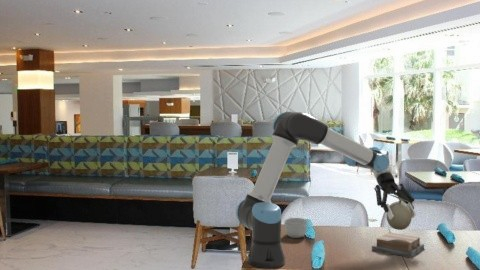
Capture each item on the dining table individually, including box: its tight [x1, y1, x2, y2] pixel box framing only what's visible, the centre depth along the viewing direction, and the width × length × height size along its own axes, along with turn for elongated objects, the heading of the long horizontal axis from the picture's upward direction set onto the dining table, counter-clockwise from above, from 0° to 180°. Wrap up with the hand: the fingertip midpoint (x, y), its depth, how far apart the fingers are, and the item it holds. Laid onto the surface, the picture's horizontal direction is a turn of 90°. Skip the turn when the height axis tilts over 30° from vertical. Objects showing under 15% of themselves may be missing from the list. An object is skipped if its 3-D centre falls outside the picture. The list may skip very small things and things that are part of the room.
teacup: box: [283, 217, 308, 239], centre depth 242 cm, size 14×11×8 cm
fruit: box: [385, 194, 415, 231], centre depth 219 cm, size 10×12×15 cm
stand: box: [371, 232, 425, 258], centre depth 219 cm, size 17×17×5 cm
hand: (403, 217), depth 216 cm, fingers closed on fruit, 10 cm apart
